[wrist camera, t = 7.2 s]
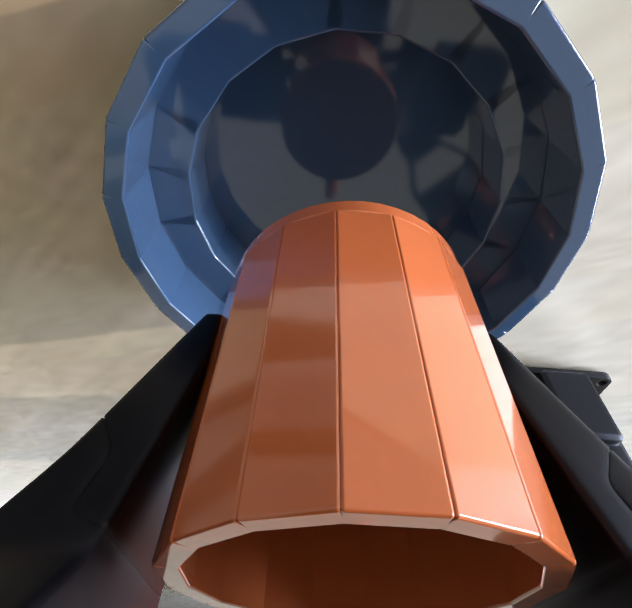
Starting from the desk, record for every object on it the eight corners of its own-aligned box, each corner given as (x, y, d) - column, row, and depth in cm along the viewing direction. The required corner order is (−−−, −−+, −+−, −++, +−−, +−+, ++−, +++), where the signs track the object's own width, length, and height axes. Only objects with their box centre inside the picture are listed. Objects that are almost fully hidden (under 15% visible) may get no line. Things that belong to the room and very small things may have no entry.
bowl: (460, 314, 21) (487, 395, 17) (188, 294, 21) (157, 372, 17) (620, -42, 11) (756, -28, 8) (113, -92, 11) (5, -103, 7)
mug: (226, 188, 9) (99, 496, 4) (497, 210, 9) (685, 530, 4) (244, 398, 14) (200, 634, 9) (412, 409, 14) (452, 647, 10)
